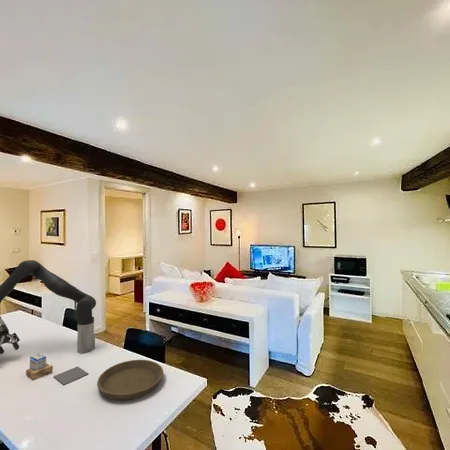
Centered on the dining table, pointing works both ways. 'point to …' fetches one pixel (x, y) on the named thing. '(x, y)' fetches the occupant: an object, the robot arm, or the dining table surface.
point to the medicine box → (37, 361)
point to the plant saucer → (130, 379)
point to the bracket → (39, 372)
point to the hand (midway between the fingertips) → (10, 351)
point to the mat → (70, 375)
